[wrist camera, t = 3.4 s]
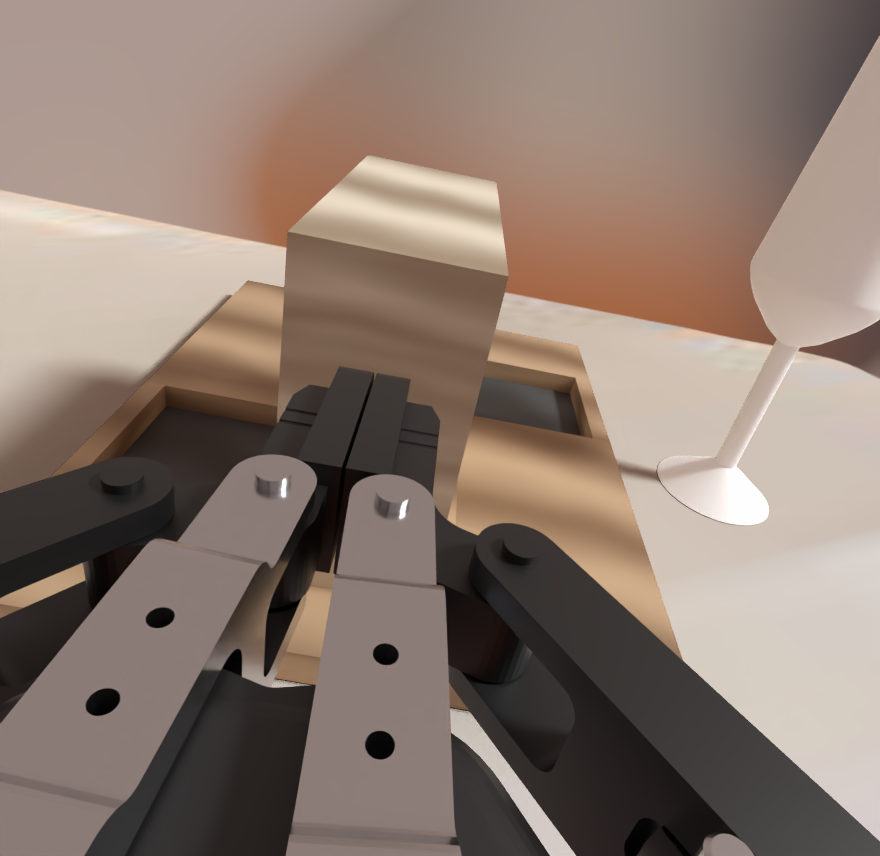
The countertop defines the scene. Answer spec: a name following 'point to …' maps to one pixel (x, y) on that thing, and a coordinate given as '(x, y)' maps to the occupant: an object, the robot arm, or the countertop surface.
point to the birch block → (398, 295)
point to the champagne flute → (803, 288)
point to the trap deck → (480, 477)
